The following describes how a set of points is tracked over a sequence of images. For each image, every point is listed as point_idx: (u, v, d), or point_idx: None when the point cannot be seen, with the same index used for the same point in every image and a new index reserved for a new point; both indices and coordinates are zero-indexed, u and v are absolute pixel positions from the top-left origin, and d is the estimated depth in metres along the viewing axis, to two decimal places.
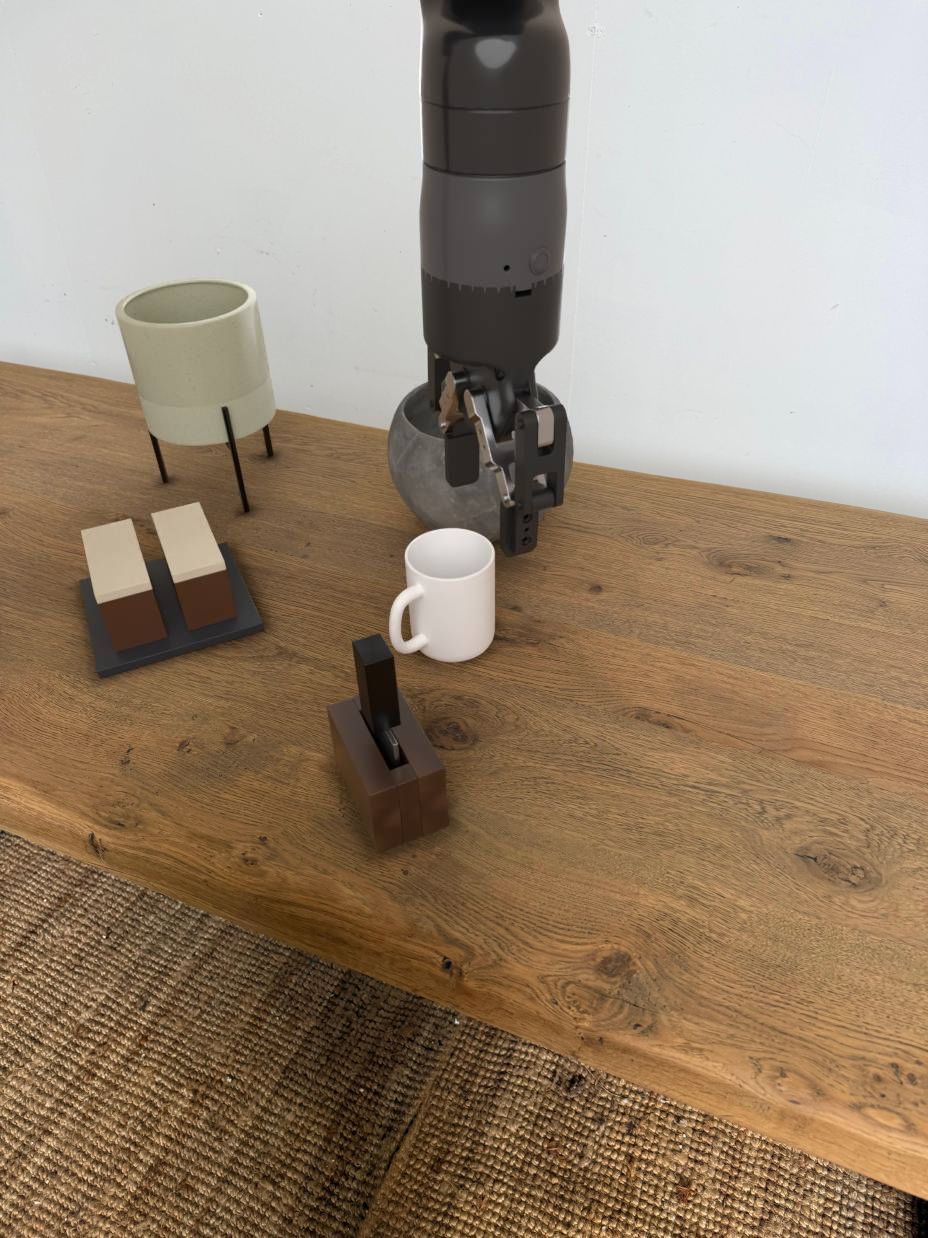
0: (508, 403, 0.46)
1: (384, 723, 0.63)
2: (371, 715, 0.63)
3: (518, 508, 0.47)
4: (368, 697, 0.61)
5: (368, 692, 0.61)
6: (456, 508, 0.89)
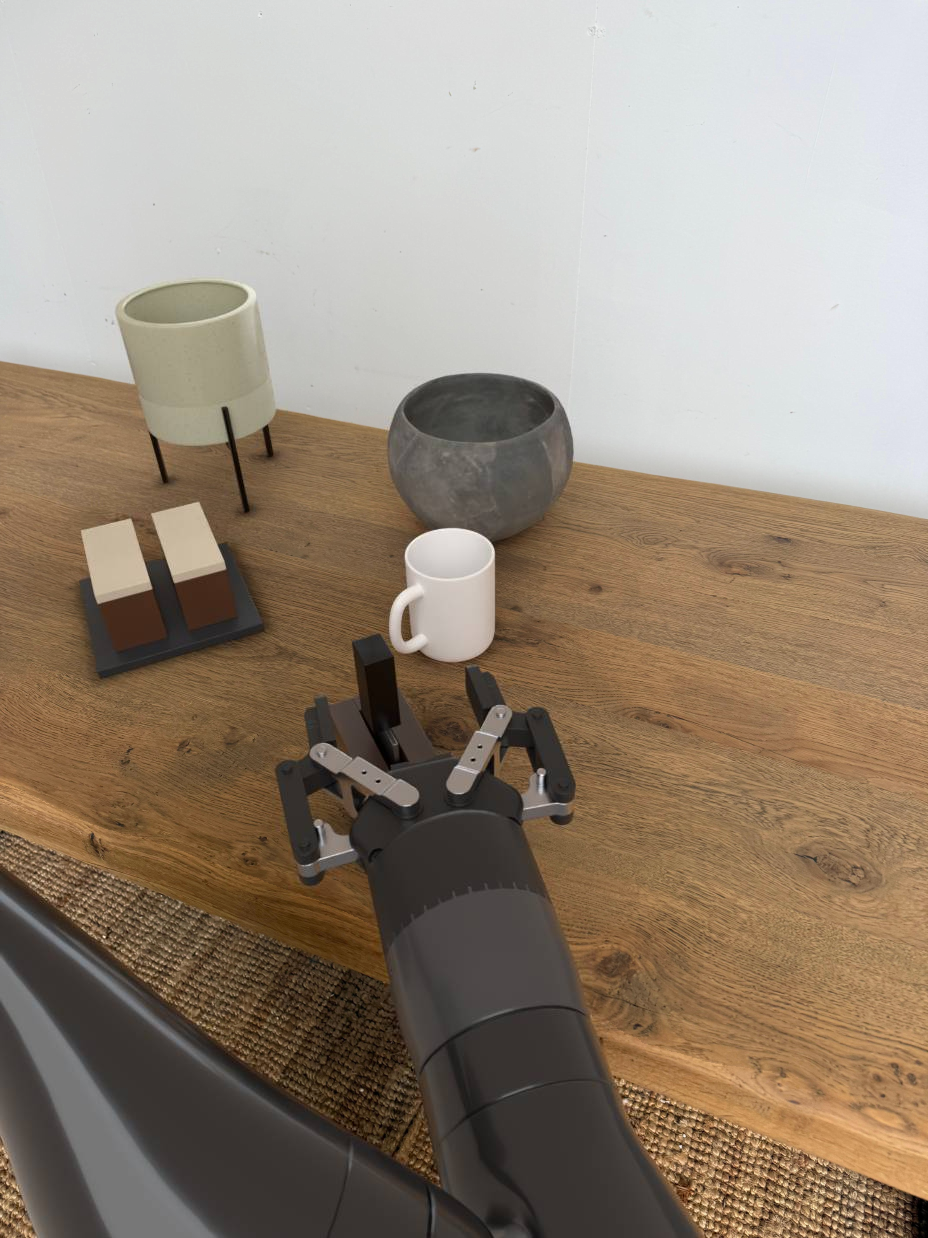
0: (353, 839, 0.40)
1: (384, 723, 0.63)
2: (371, 715, 0.63)
3: (283, 766, 0.43)
4: (368, 697, 0.61)
5: (368, 692, 0.61)
6: (456, 508, 0.89)
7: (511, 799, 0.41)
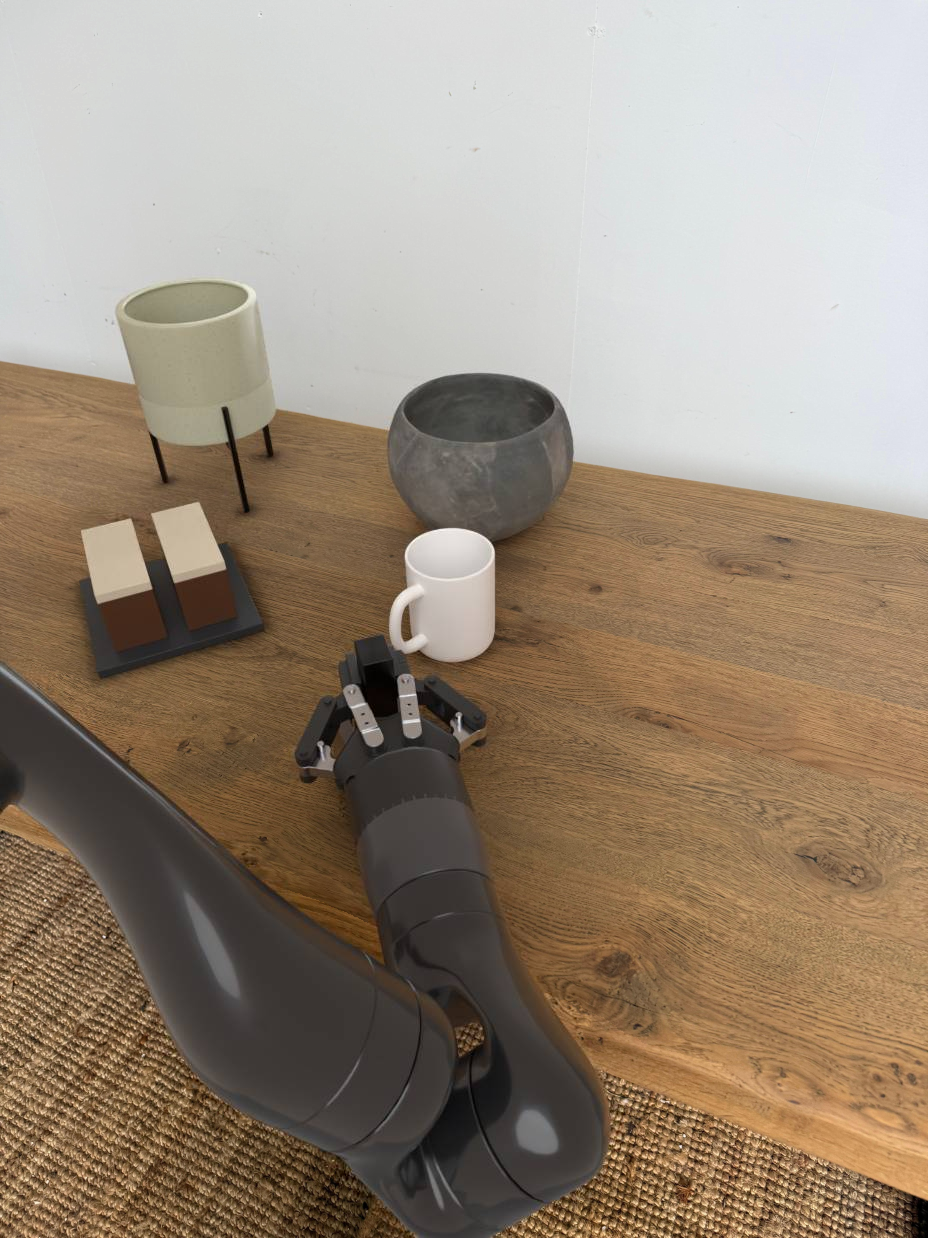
0: (335, 763, 0.56)
1: None
2: None
3: (325, 698, 0.60)
4: (366, 697, 0.61)
5: (366, 692, 0.61)
6: (456, 508, 0.89)
7: (450, 739, 0.57)
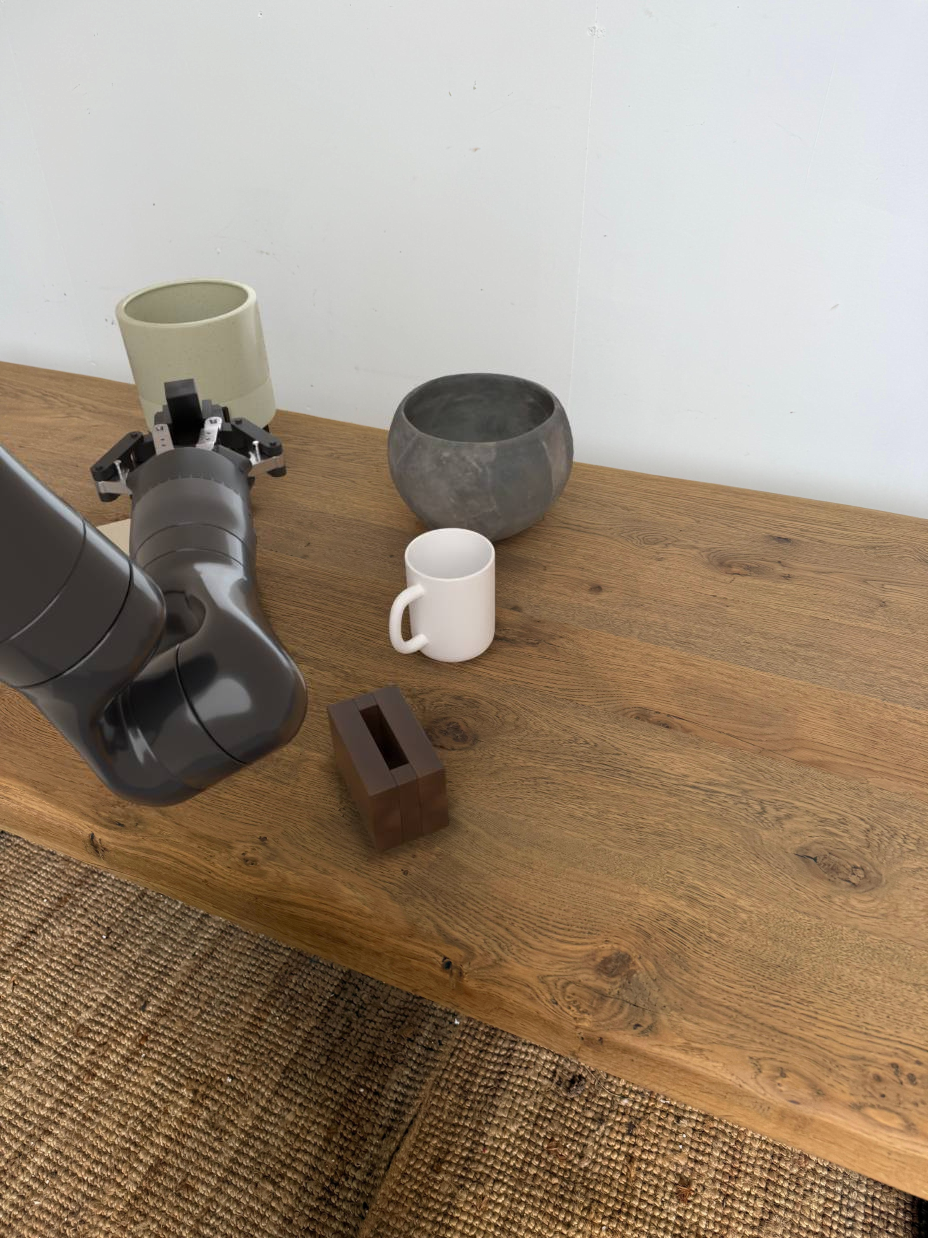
0: None
1: None
2: None
3: (132, 432, 0.62)
4: (176, 437, 0.64)
5: (174, 431, 0.64)
6: (456, 508, 0.89)
7: (242, 458, 0.60)
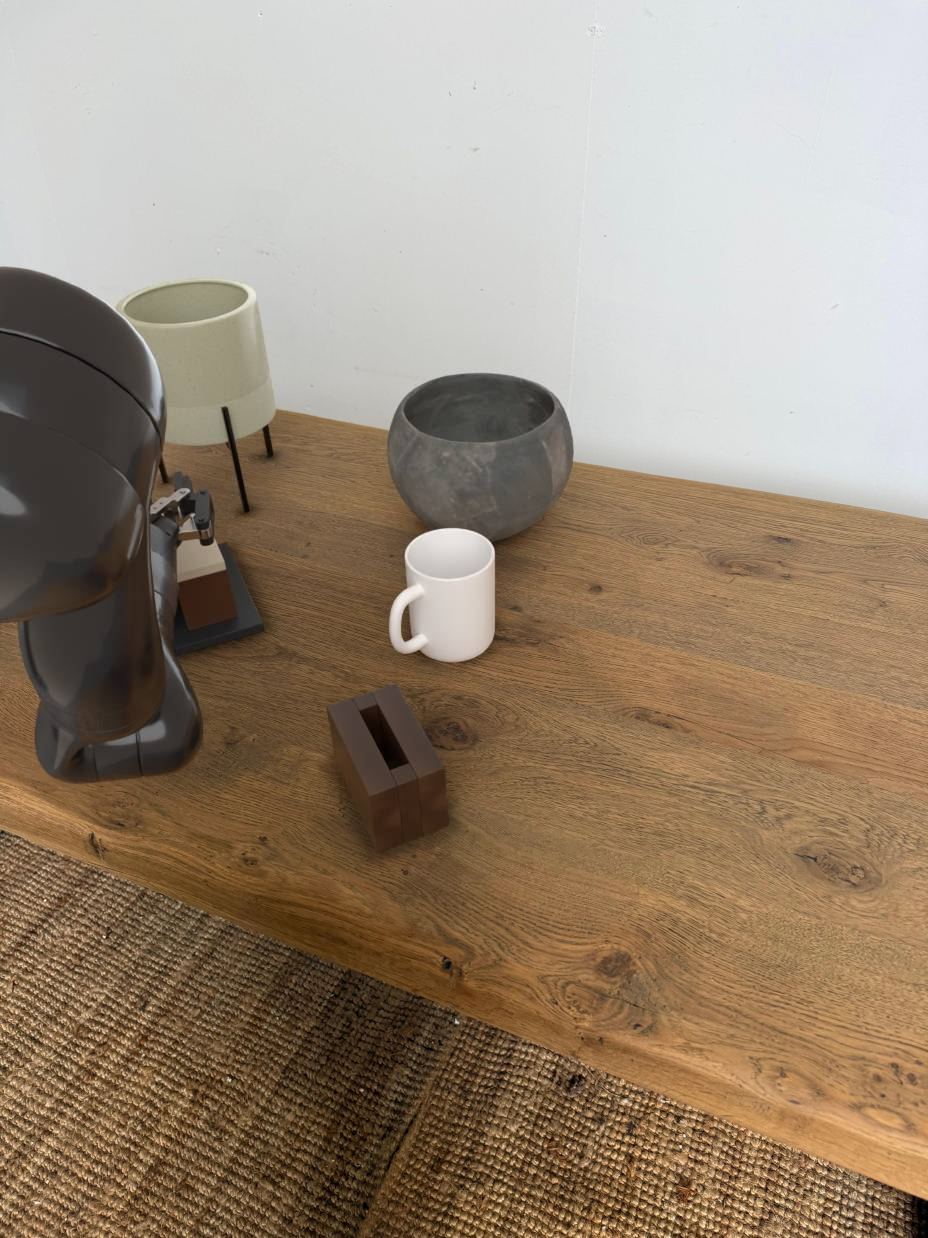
0: None
1: None
2: None
3: None
4: None
5: None
6: (456, 508, 0.89)
7: (170, 526, 0.75)
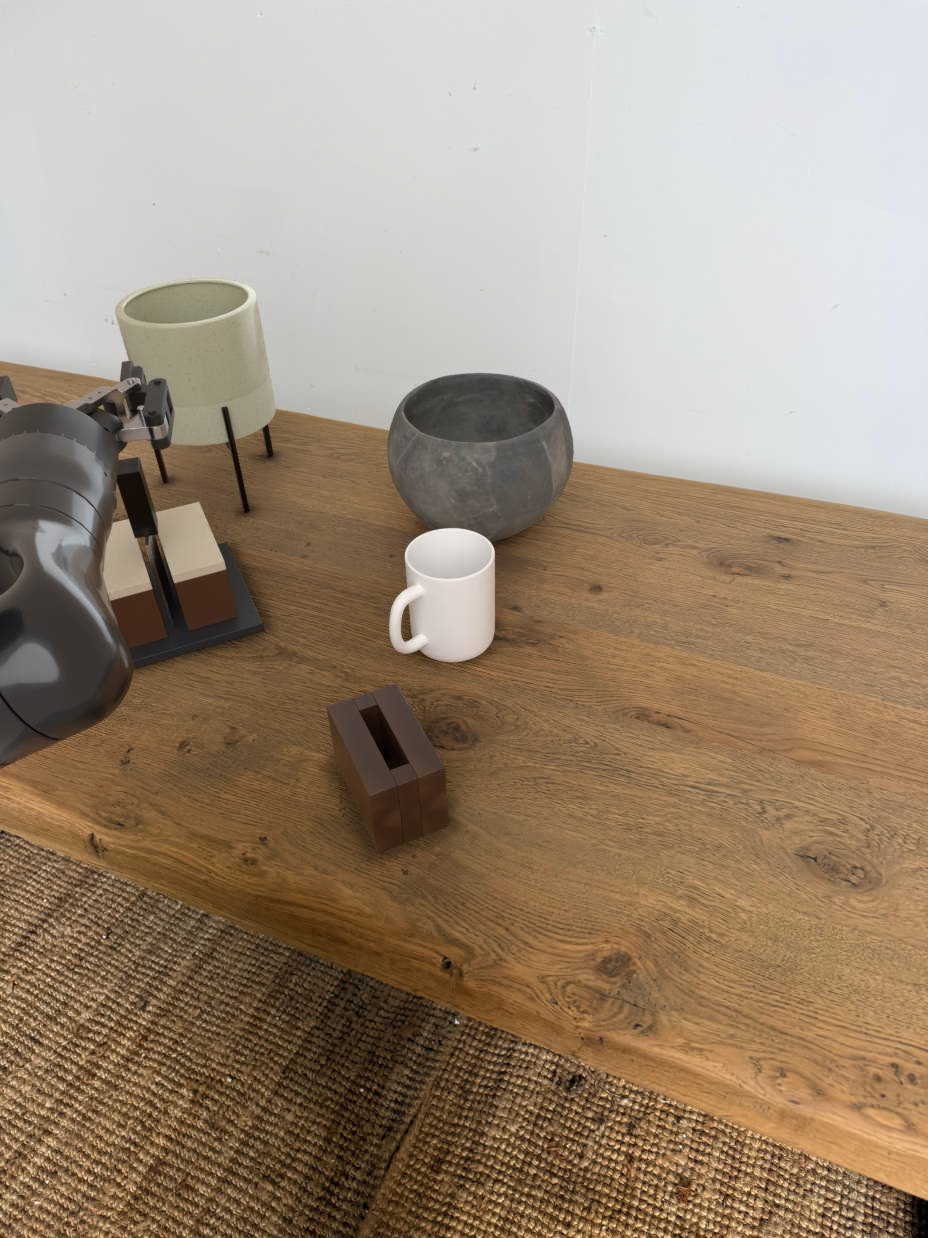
0: None
1: (142, 530, 0.82)
2: (129, 521, 0.81)
3: None
4: (124, 504, 0.80)
5: (122, 499, 0.80)
6: (456, 508, 0.89)
7: (110, 420, 0.55)
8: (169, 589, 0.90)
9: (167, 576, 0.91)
